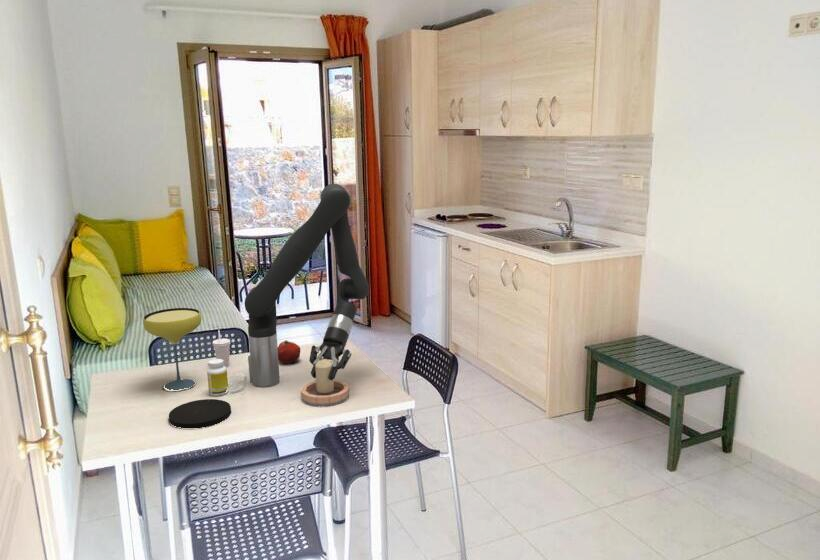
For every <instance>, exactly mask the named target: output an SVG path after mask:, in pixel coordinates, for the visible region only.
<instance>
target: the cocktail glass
mask: <svg viewBox="0 0 820 560" xmlns="http://www.w3.org/2000/svg"><path fill="white" fill-rule="evenodd" d="M201 322H202V315H201V312H200V310H198V309H196V308H193V307H192V308H191V307H190V308H189V307H175V308H174V307H173V308H166V309H160V310H156V311H153V312H150V313H147V314H146V315H144V317H143V318H142V325H143V329H144V330H145V331H146V332H147V333H148V334H151V335H152V336H154V337H155V336H156V337H159V338H162V339H165V340H167V342H170V344H172V345H173V346H174V356H175V357H174V358H175V366H176V368H175V369H176V379H175V381H174V380H171V381H172V382H171V381H168V382H169V383H168V382H167V384H166V383H165V384H166V385H165V388H167V389H169V390H171V389H173V390H179V389H184V388H189V387H191V386H193V385H194V384H195V382H196V381H195V380H194V381H195V382H194V381H193V379H190V380H189V378H185V379H184V378H181V374H180V368H179V362H178V361H179V360H178V351H177V350H178V349H177V344H178V343H179V342H180V341H181V339H182V338H183V337H184V336H186V335H189V334H190V333H191V332H193V331H195V330H196V329H197V328H198V327H199V326H200V325H201ZM181 379H183V380H181Z"/></svg>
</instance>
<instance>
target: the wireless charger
mask: <svg viewBox="0 0 820 560" xmlns="http://www.w3.org/2000/svg"><path fill="white" fill-rule="evenodd" d="M230 414H232V407H231V404H230V403H229V402H227V401H225V400H222V399H215V398H207V399H198V400H197V399H196V400H191V401H188V402H185V403H181V404H180V405H178V406H175V407H174V408H172V409H171V410H170V412H169V413H168V421H169V424H170V423H171V424H172V425H174V426H176V427H175V428H177V427H181V428H199V429H203V428H202V427H205V428H208V427H213V426H215V424H216V425H218V424H220V422H221V423H223V422H224V421H226V420H227V419H228V418H230V416H231V415H230ZM225 419H226V420H225ZM222 421H223V422H222ZM171 424H170V425H171ZM172 425H171V426H172ZM174 426H173V427H174ZM181 428H180V429H181Z"/></svg>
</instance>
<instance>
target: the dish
mask: <svg viewBox="0 0 820 560" xmlns="http://www.w3.org/2000/svg"><path fill="white" fill-rule="evenodd" d="M300 397H301V401H302V403H304V404H306V405H309V406H312V407H319V406H320V408H321V407H322V406H324V407H330V406H331V405H332V406H335V405H336V404H337V405H339V403H340V404H342V403H344V402H346V401H347V400H348V399H349V398H348V397H350V385H349V383H347V382H345V381H344V380H339V379H334V390H333V391H332V392H329V393H319V392H317V387H316V380H315V381H310V382H308V383H307V384H305V385H303V386H302V387H301V389H300ZM347 398H348V399H347ZM346 399H347V400H346ZM345 400H346V401H345ZM341 402H342V403H341ZM337 405H336V406H337ZM332 406H331V407H332Z"/></svg>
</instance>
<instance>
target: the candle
mask: <svg viewBox="0 0 820 560" xmlns="http://www.w3.org/2000/svg"><path fill="white" fill-rule="evenodd" d="M332 367H333V362H332V361H331V360H328V359H322V360H319V361H318V362H317V364H316V365H315V370H316V378H315V381H316V387H317V392H319V393H329V392H332V391H333V390H334V380H335V378H334V379H333V380H329V378H328V376H329V373H330V370H331V368H332Z"/></svg>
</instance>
